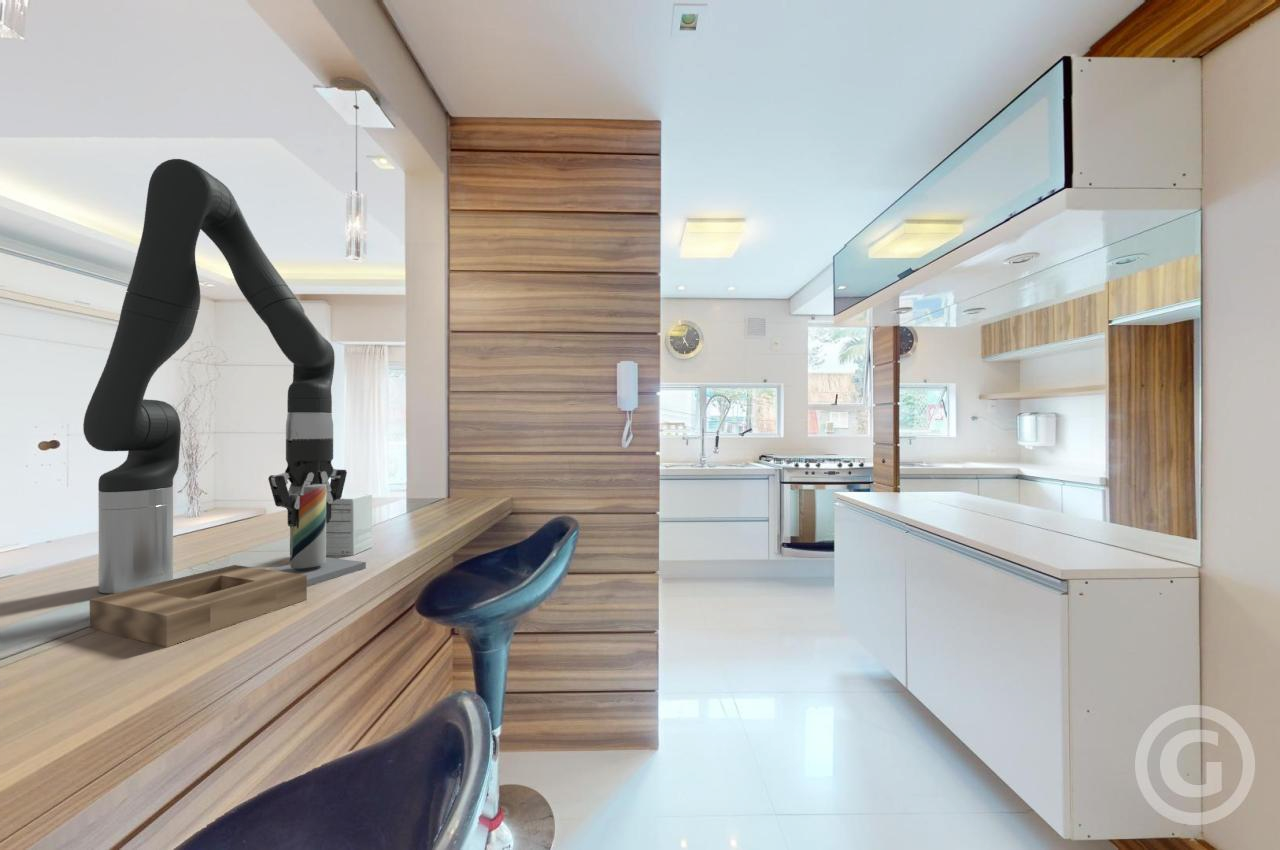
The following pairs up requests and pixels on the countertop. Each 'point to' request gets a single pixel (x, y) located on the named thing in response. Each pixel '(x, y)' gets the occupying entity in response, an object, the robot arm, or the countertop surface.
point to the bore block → (195, 603)
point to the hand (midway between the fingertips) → (310, 525)
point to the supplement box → (349, 525)
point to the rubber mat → (325, 569)
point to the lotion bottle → (309, 523)
